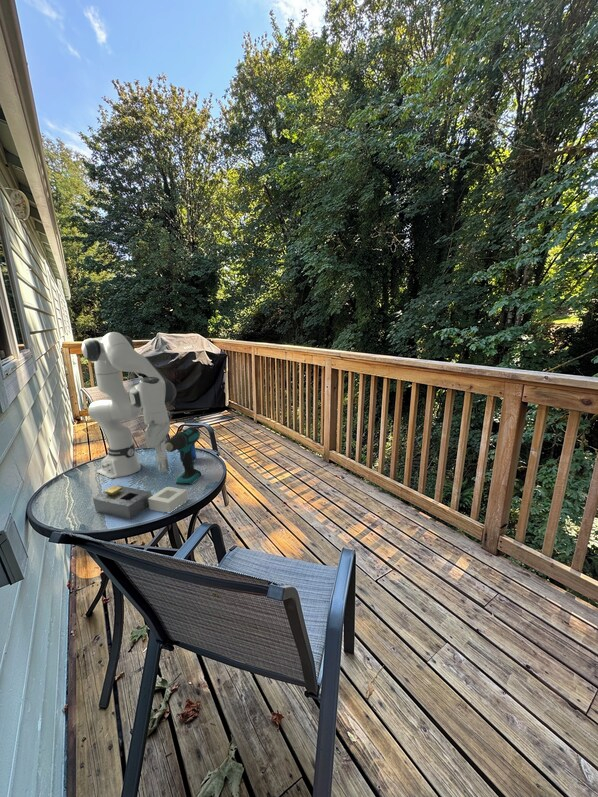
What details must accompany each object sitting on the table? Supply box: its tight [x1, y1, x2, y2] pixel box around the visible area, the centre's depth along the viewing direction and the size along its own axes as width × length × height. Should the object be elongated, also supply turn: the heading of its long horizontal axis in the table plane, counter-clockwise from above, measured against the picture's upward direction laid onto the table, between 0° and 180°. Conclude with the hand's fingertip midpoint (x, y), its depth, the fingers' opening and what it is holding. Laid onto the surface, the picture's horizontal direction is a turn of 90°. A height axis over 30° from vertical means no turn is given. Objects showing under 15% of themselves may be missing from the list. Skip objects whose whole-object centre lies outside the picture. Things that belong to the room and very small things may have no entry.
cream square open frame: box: [148, 486, 189, 513], centre depth 148 cm, size 11×11×5 cm
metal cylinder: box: [155, 440, 170, 473], centre depth 143 cm, size 4×4×12 cm
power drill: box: [165, 426, 202, 485], centre depth 166 cm, size 26×9×25 cm, turn 168°
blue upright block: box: [180, 443, 197, 463], centre depth 191 cm, size 8×8×16 cm
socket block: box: [92, 484, 153, 521], centre depth 147 cm, size 20×12×6 cm, turn 67°
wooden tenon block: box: [103, 485, 123, 496], centre depth 149 cm, size 5×5×8 cm
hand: (160, 450), depth 143 cm, fingers closed on metal cylinder, 4 cm apart
